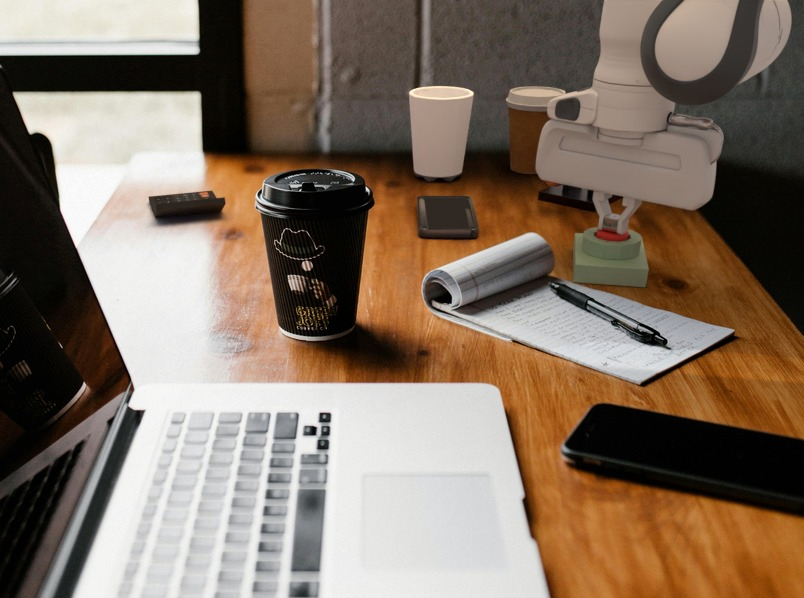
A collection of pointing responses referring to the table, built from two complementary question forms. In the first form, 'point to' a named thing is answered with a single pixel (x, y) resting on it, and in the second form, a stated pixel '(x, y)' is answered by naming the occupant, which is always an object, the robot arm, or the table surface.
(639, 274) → the button block
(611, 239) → the button
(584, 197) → the switch bracket
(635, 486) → the table surface
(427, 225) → the phone
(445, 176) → the cup
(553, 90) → the disposable coffee cup
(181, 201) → the calculator
